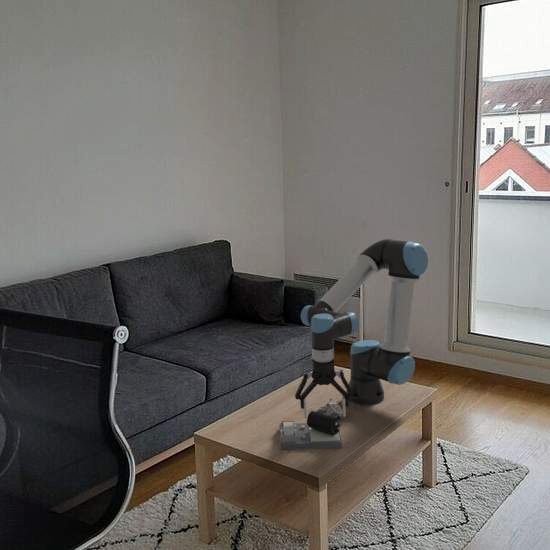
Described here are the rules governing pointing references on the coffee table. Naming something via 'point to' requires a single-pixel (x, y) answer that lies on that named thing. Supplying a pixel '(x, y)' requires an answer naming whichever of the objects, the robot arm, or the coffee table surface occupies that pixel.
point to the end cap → (324, 422)
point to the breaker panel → (308, 438)
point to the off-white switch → (288, 428)
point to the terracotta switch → (287, 419)
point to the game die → (333, 408)
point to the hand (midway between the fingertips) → (324, 415)
